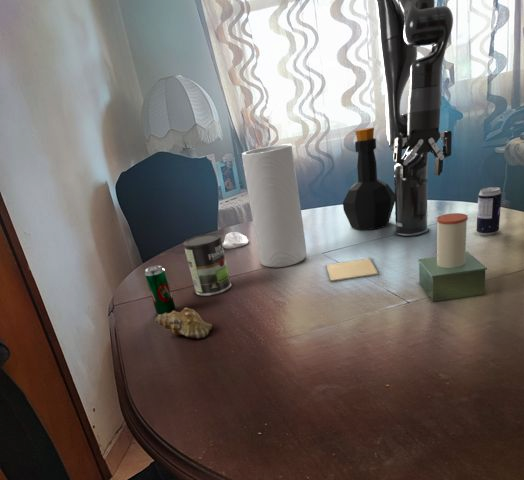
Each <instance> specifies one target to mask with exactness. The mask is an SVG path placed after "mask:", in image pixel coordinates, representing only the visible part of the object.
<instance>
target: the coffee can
mask: <svg viewBox="0 0 524 480" xmlns="http://www.w3.org/2000/svg"><path fill="white" fill-rule="evenodd" d="M222 244H223V241H222V235H221V234H219V233H206V234H200V235H196V236H192V237H191V238H188V239H186V240H184V241H183V242H182V247H183V248H184V251H185V252H184V253H185V256H186V260H187V264H188V268H189V272H190V274H191V279H192V283H193V287H194V292H195V294H196V295H198V296H200V297H201V296H202V297H207V296H214V295H215V296H216V295H219V294H222V293H225V292H226V291H228V290H229V289H230V288H231V287H232V283H231V278H230V275H229V270H228V264H227V260H226V254H225V250H224V247H223V245H222Z"/></svg>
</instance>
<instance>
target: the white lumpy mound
mask: <svg viewBox="0 0 524 480" xmlns="http://www.w3.org/2000/svg"><path fill="white" fill-rule="evenodd" d="M248 243H249V239H248V237H247V236H246V235H243V234H242V233H241V232H238V231H231V232H228V233H226V234H225V236H224V240H223V242H222V245H223V249H234V248H235V249H236V248H240V247H244V246H246V245H248Z"/></svg>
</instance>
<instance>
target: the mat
mask: <svg viewBox="0 0 524 480" xmlns="http://www.w3.org/2000/svg"><path fill="white" fill-rule="evenodd" d="M326 269H327V273H328V276H329V279H330V282H337V281H338V282H339V281H344V280H351V279H357V278H358V279H359V278H364V277H370V276H371V277H372V276H379V272H378V270H377V268H376V266H375V265H374V263H373V261H372V259H371V258H363V259H357V260H350V261H344V262H337V263H336V262H335V263H330V264H326Z"/></svg>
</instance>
